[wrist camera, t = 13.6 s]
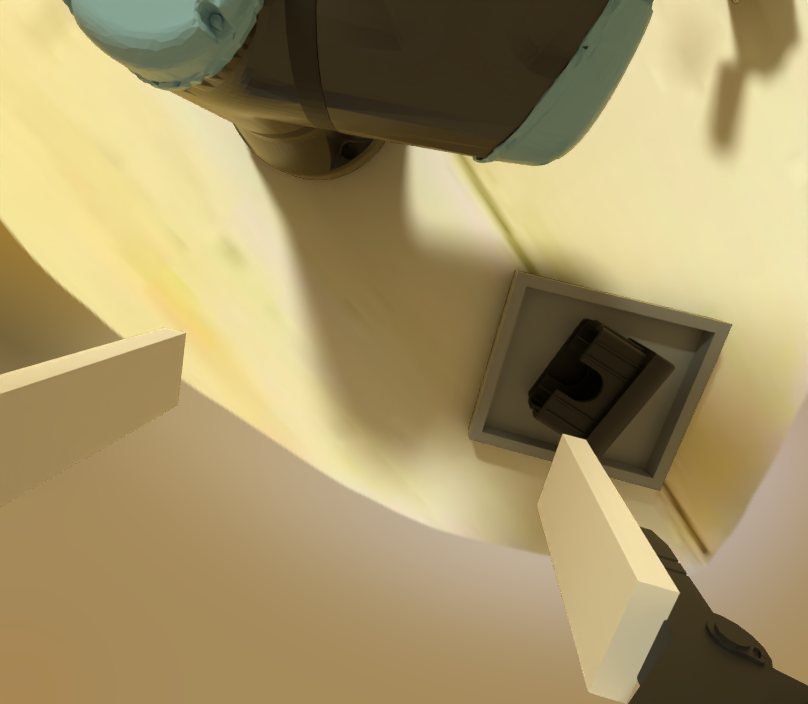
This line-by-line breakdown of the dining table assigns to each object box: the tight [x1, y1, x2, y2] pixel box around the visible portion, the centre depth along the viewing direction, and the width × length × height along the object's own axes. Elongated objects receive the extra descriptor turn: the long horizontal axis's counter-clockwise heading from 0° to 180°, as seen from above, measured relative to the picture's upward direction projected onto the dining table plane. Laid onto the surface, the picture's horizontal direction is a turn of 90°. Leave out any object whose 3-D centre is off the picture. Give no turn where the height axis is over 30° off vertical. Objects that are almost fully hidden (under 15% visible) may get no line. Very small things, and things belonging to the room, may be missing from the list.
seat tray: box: [469, 270, 732, 491], centre depth 41 cm, size 18×16×3 cm
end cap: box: [528, 319, 675, 460], centre depth 39 cm, size 10×7×7 cm
